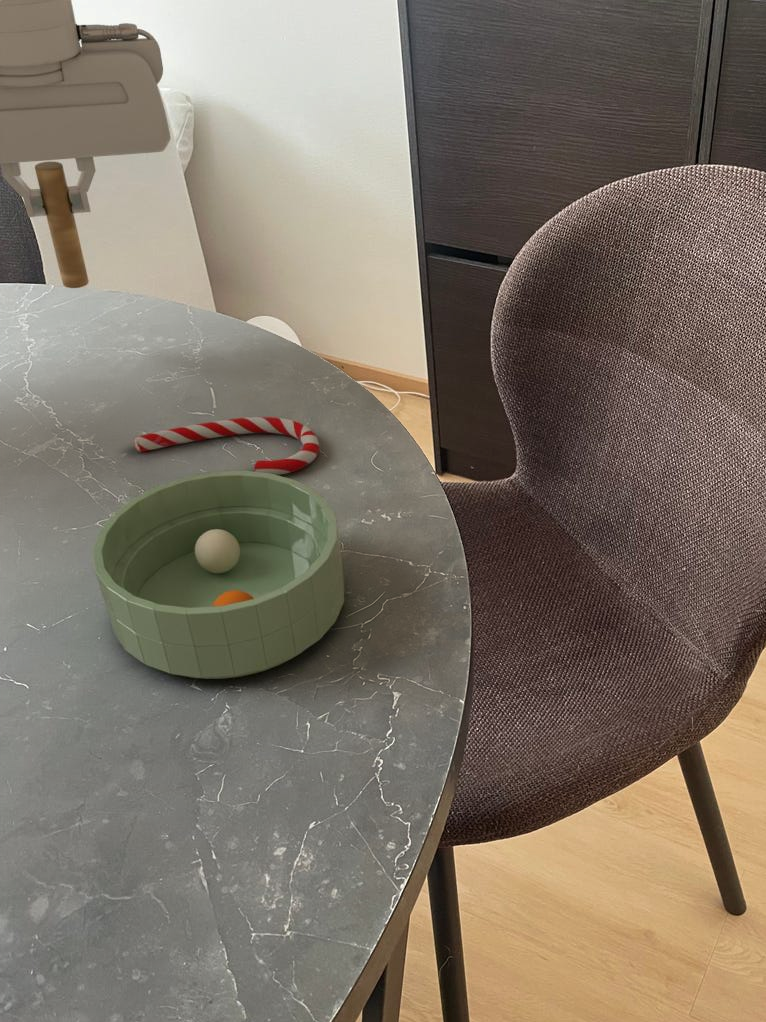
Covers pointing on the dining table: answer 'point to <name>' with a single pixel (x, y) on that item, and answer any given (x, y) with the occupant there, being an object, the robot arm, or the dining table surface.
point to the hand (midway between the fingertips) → (59, 212)
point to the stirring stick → (62, 224)
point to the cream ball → (217, 551)
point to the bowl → (221, 574)
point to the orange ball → (232, 598)
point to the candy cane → (241, 427)
